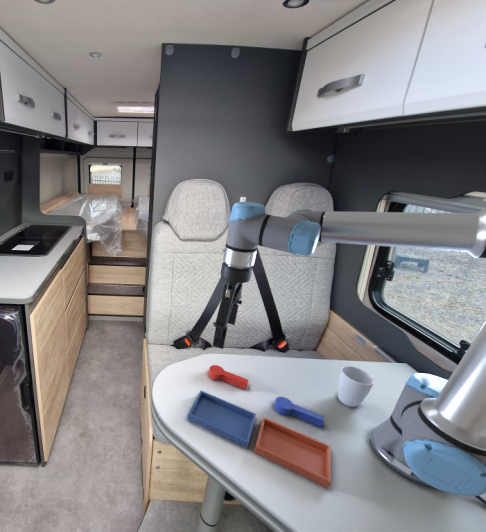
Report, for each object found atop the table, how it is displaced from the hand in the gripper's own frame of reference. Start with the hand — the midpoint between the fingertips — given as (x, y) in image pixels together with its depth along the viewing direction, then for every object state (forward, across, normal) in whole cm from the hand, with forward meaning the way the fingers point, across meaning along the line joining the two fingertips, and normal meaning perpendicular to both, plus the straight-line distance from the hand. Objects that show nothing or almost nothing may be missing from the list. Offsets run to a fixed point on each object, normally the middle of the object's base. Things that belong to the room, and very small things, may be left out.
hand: (224, 334), depth 86 cm
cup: (+22, -21, +37) cm, 48 cm away
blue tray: (+22, +8, +4) cm, 24 cm away
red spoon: (+23, -10, +2) cm, 25 cm away
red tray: (+22, +8, +22) cm, 33 cm away
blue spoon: (+22, -6, +23) cm, 33 cm away
